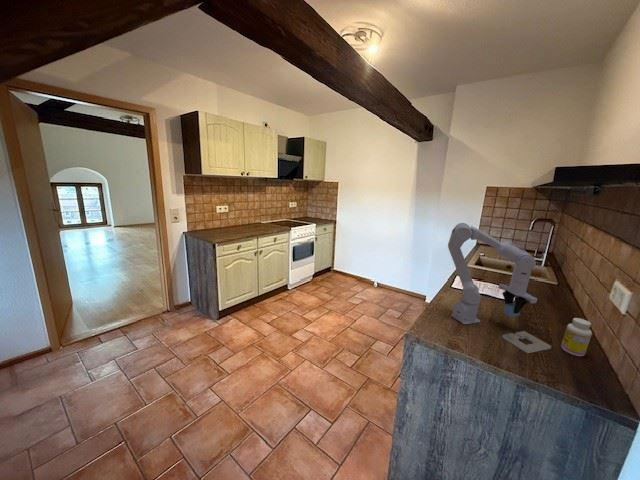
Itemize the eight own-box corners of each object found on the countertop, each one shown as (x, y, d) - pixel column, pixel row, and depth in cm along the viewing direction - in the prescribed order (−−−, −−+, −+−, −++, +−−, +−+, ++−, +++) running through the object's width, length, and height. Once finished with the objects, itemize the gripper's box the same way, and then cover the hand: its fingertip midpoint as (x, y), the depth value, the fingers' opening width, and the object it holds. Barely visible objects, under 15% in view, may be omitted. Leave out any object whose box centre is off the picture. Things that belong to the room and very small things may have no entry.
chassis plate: (527, 353, 94) (528, 350, 94) (502, 337, 104) (502, 334, 103) (550, 348, 98) (551, 346, 97) (523, 333, 107) (524, 331, 107)
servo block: (510, 317, 107) (513, 306, 106) (503, 313, 110) (506, 302, 108) (519, 315, 108) (521, 304, 107) (512, 312, 111) (514, 301, 110)
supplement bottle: (559, 343, 101) (568, 314, 98) (583, 350, 97) (593, 320, 94) (561, 351, 96) (570, 321, 93) (585, 359, 92) (596, 328, 89)
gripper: (545, 287, 100) (537, 318, 103) (509, 274, 113) (503, 301, 116) (532, 289, 98) (524, 320, 101) (497, 275, 111) (491, 303, 114)
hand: (512, 310), depth 108 cm, fingers closed on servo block, 3 cm apart
